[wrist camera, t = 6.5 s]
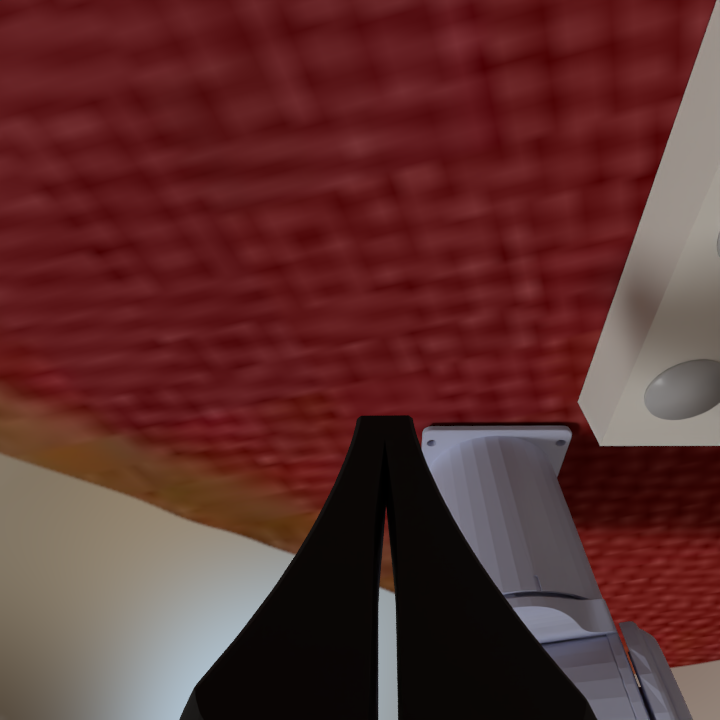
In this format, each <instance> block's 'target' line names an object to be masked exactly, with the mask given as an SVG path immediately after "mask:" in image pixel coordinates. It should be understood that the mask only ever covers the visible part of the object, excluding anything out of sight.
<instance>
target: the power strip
mask: <svg viewBox="0 0 720 720" xmlns="http://www.w3.org/2000/svg"><path fill="white" fill-rule="evenodd" d="M578 403H579V405H580V407H581V409H582V411H583V413H584V415H585V417H586V419H587V421H588V423H589V425H590V427H591V429H592V431H593V433H594V435H595V437H596V439H597V441H598V443H599V445H600V446H720V0H717V1H716V4H715V7H714V9H713V12H712V15H711V18H710V21H709V24H708V27H707V30H706V33H705V35H704V38H703V41H702V44H701V47H700V50H699V53H698V56H697V59H696V61H695V64H694V67H693V70H692V73H691V76H690V79H689V82H688V85H687V88H686V90H685V93H684V96H683V99H682V102H681V105H680V108H679V111H678V114H677V116H676V119H675V122H674V125H673V128H672V131H671V134H670V137H669V140H668V142H667V145H666V148H665V151H664V154H663V157H662V160H661V163H660V166H659V169H658V171H657V174H656V177H655V180H654V183H653V186H652V189H651V192H650V195H649V197H648V200H647V203H646V206H645V209H644V212H643V215H642V218H641V221H640V223H639V226H638V229H637V232H636V235H635V238H634V241H633V244H632V247H631V250H630V252H629V255H628V258H627V261H626V264H625V267H624V270H623V273H622V276H621V278H620V281H619V284H618V287H617V290H616V293H615V296H614V299H613V302H612V304H611V307H610V310H609V313H608V316H607V319H606V322H605V325H604V328H603V331H602V333H601V336H600V339H599V342H598V345H597V348H596V351H595V354H594V357H593V359H592V362H591V365H590V368H589V371H588V374H587V377H586V380H585V383H584V385H583V388H582V391H581V394H580V397H579V400H578Z"/></svg>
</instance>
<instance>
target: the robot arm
mask: <svg viewBox="0 0 720 720" xmlns="http://www.w3.org/2000/svg"><path fill="white" fill-rule="evenodd" d="M571 437H572V432H571V430H570V428H569V427H567V426H429V427H427V428H425V429H424V430H423V432H422V450H421V447H420V444H419V441H418V438H417V435H416V431H415V428H414V423H413V419H412V418H411V417H410V416H360V417H359V418H358V419H357V422H356V427H355V431H354V435H353V438H352V441H351V444H350V447H349V450H348V453H347V455H346V458H345V461H344V463H343V465H342V468H341V470H340V472H339V475H338V477H337V479H336V482H335V484H334V486H333V488H332V490H331V492H330V494H329V496H328V498H327V500H326V502H325V504H324V506H323V508H322V510H321V512H320V514H319V516H318V518H317V520H316V521H315V523H314V525H313V527H312V529H311V530H310V532H309V534H308V536H307V537H306V539H305V541H304V542H303V544H302V546H301V547H300V549H299V550H298V552H297V554H296V555H295V557H294V558H293V560H292V561H291V563H290V564H289V566H288V567H287V569H286V570H285V572H284V574H283V575H282V577H281V578H280V580H279V581H278V582H277V584H276V585H275V587H274V588H273V590H272V591H271V592H270V594H269V595H268V596H267V598H266V599H265V600H264V602H263V603H262V604H261V606H260V607H259V608H258V610H257V611H256V612H255V614H254V615H253V616H252V618H251V619H250V620H249V622H248V623H247V625H246V626H245V627H244V628H243V630H242V631H241V632H240V633H239V635H238V636H237V637H236V638H235V640H234V641H233V642H232V643H231V644H230V646H229V647H228V648H227V649H226V650H225V651H224V653H223V654H222V655H221V656H220V657H219V658H218V660H217V661H216V662H215V663H214V664H213V666H212V667H211V668H210V669H209V670H208V672H207V673H206V674H205V675H204V676H203V677H202V678H201V680H200V681H199V682H198V683H197V685H196V686H195V688H194V689H193V691H192V693H191V695H190V697H189V700H188V702H187V704H186V706H185V708H184V710H183V713H182V715H181V717H180V720H378V601H379V583H380V571H381V559H382V548H383V536H384V524H385V511H386V508H387V518H388V528H389V537H390V547H391V557H392V567H393V576H394V586H395V600H396V631H397V632H396V633H397V681H398V720H693V719H692V717H691V714H690V712H689V710H688V707H687V705H686V703H685V700H684V698H683V696H682V694H681V691H680V689H679V687H678V685H677V682H676V680H675V678H674V676H673V674H672V672H671V669H670V667H669V665H668V663H667V661H666V659H665V657H664V655H663V653H662V651H661V649H660V647H659V645H658V643H657V641H656V639H655V638H654V637H653V636H652V635H650V634H648V633H647V632H645V631H644V630H642V629H639V628H638V626H637V625H636V624H635V623H634V622H631V621H629V622H622V623H619V625H620V628H621V631H622V633H623V636H624V638H625V641H626V644H627V646H628V649H629V651H630V652H628V654H629V657H630V659H631V662H632V665H633V667H634V670H635V672H636V675H637V677H638V680H639V683H640V685H641V687H638V684H637V682H636V679H635V676H634V674H633V671H632V669H631V666H630V663H629V661H628V658H627V655H626V653H625V650H624V648H623V645H622V642H621V640H620V637H619V635H618V632H617V630H616V627H615V625H614V622H613V620H612V617H611V615H610V612H609V609H608V607H607V604H606V602H605V600H604V599H603V598H602V596H601V593H600V590H599V588H598V585H597V583H596V580H595V577H594V575H593V572H592V569H591V567H590V564H589V561H588V559H587V556H586V553H585V551H584V548H583V546H582V543H581V540H580V538H579V535H578V532H577V530H576V527H575V524H574V522H573V519H572V516H571V514H570V511H569V508H568V506H567V503H566V501H565V498H564V495H563V493H562V490H561V487H560V485H559V482H558V479H557V477H558V474H559V471H560V468H561V465H562V463H563V460H564V457H565V454H566V451H567V449H568V446H569V443H570V440H571ZM429 440H434V441H429ZM558 440H559V441H558Z"/></svg>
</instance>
